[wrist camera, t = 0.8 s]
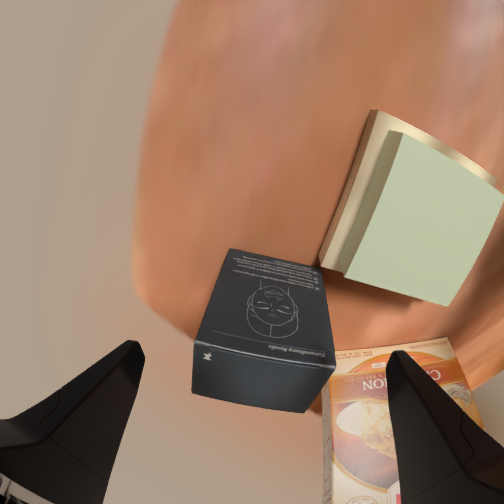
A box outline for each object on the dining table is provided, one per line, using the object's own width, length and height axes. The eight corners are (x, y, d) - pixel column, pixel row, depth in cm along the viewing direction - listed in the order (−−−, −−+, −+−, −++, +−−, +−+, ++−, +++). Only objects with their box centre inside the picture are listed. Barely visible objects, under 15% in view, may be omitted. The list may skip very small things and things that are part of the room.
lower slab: (481, 171, 17) (497, 179, 15) (428, 284, 23) (438, 300, 21) (368, 110, 17) (378, 109, 15) (317, 250, 23) (320, 266, 21)
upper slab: (487, 186, 15) (505, 196, 13) (436, 289, 20) (447, 306, 18) (389, 129, 15) (403, 133, 13) (338, 258, 20) (344, 277, 18)
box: (220, 299, 25) (188, 394, 16) (229, 245, 23) (191, 339, 13) (303, 317, 25) (305, 417, 16) (323, 266, 23) (339, 368, 13)
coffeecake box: (448, 334, 25) (502, 484, 8) (430, 373, 28) (463, 505, 11) (324, 349, 27) (329, 538, 10) (320, 387, 30) (319, 540, 13)
